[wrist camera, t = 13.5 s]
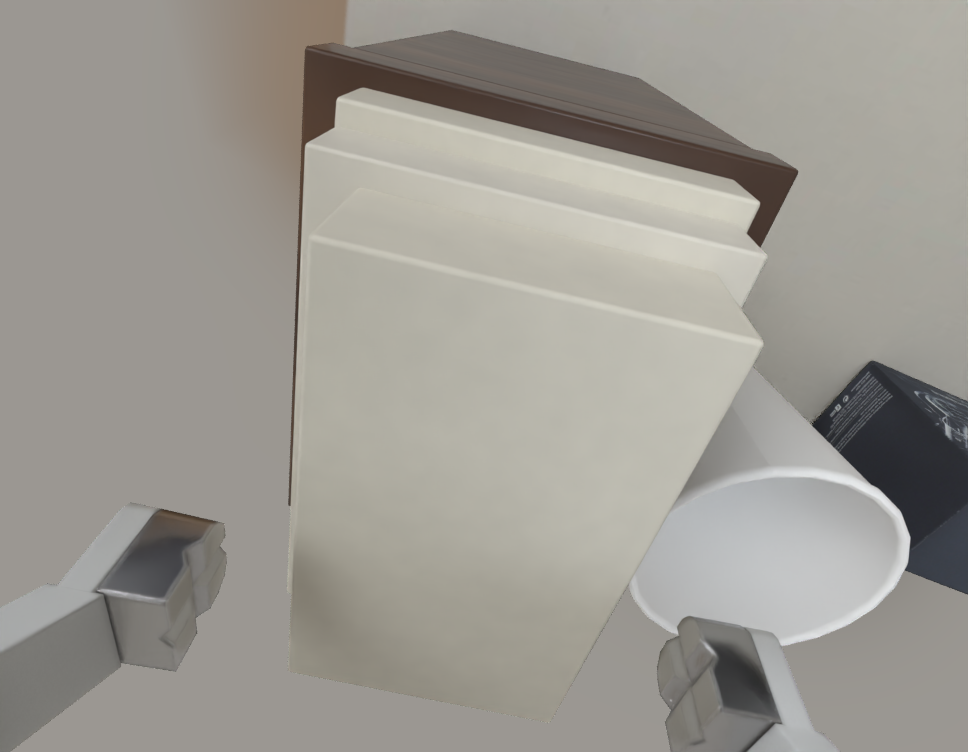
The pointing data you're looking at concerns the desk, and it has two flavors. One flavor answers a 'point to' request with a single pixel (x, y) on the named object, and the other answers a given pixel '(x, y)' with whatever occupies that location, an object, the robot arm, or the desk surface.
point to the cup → (772, 530)
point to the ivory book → (489, 445)
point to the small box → (910, 462)
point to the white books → (522, 193)
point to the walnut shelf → (534, 111)
